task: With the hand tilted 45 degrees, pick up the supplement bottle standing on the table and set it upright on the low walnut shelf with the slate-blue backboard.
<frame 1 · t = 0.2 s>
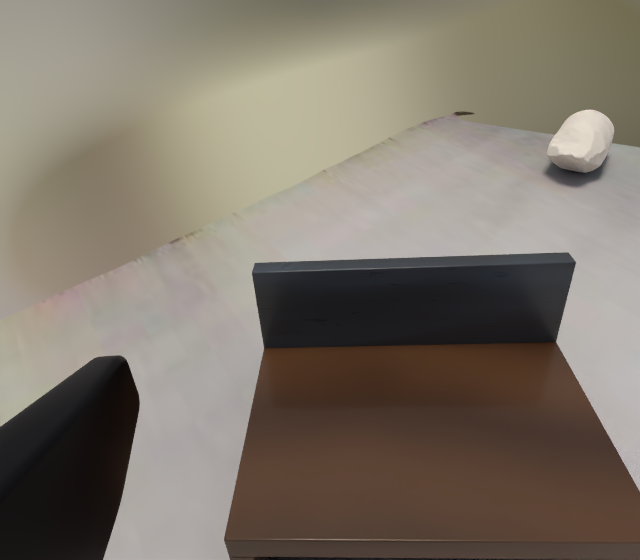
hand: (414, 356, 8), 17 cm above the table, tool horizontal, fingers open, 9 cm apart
white tapered cylinder: (573, 171, 57), on the table
shelf: (416, 477, 25), on the table
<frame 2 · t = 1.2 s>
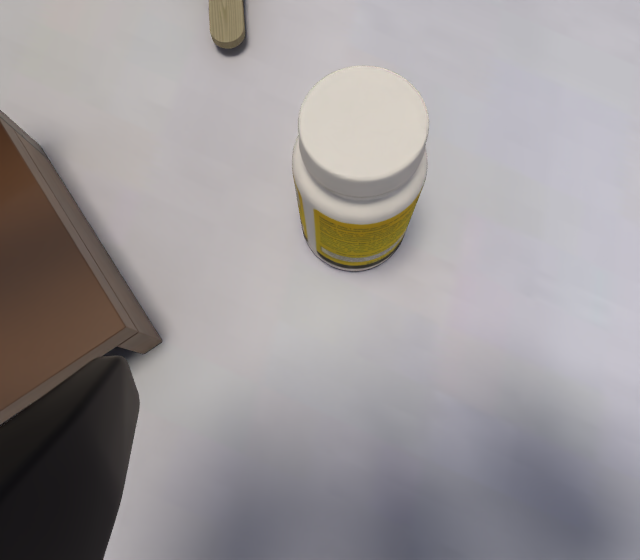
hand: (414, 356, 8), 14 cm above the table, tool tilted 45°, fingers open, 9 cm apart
supplement bottle: (352, 225, 23), on the table
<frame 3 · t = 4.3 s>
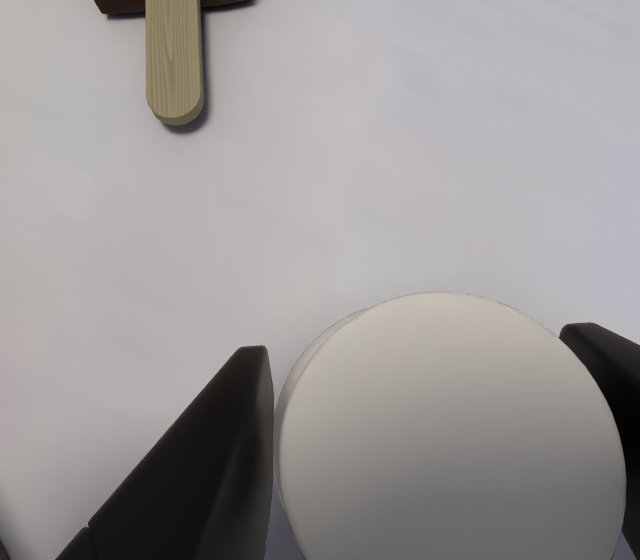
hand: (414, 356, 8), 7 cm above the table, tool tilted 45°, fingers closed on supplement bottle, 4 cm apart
supplement bottle: (380, 428, 14), on the table, touching gripper
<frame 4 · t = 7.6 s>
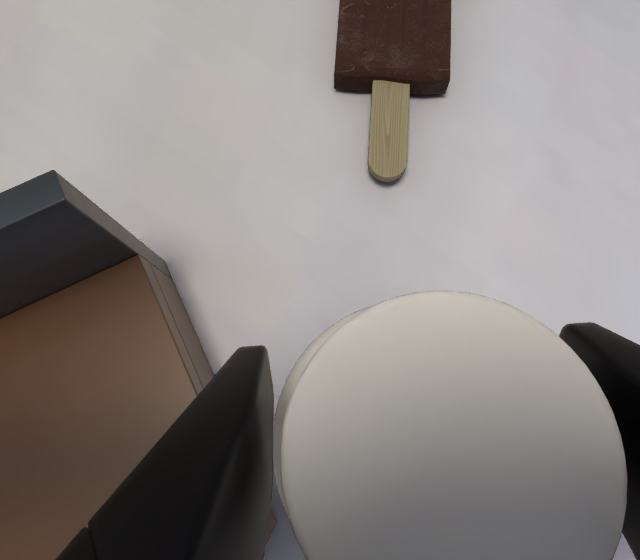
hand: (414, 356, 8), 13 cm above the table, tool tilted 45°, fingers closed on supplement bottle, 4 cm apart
ice cream bar: (390, 50, 25), on the table
shelf: (41, 483, 20), on the table
supplement bottle: (381, 427, 14), point 7 cm above the table, touching gripper
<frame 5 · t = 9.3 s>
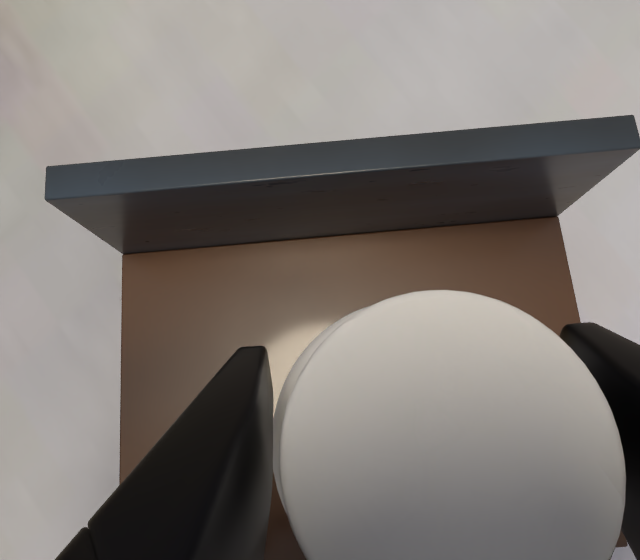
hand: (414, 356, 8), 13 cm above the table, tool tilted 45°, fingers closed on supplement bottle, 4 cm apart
shelf: (350, 390, 20), on the table
supplement bottle: (381, 427, 14), point 7 cm above the table, touching gripper
when the fingers open (11 cm above the table, at t = 11.1 s): supplement bottle stays where it is, resting on shelf.
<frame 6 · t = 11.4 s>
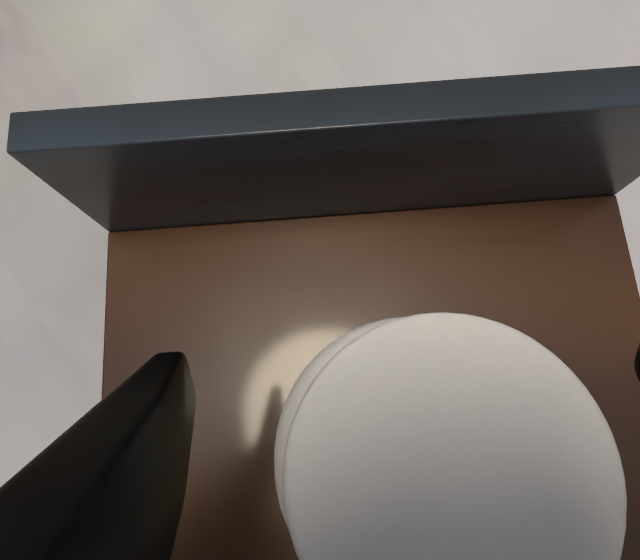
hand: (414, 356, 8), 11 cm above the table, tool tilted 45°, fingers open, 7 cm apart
shelf: (368, 394, 18), on the table
supplement bottle: (381, 436, 14), point 4 cm above the table, touching shelf
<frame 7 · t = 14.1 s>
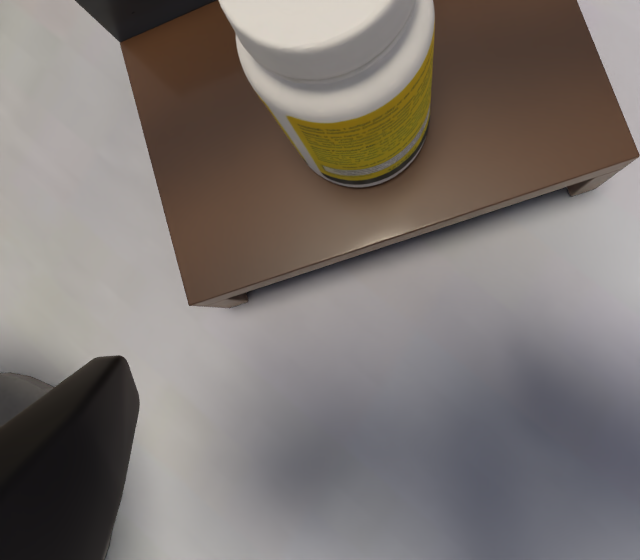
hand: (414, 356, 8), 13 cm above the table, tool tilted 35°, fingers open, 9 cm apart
shelf: (362, 133, 21), on the table
supplement bottle: (361, 126, 18), point 4 cm above the table, touching shelf
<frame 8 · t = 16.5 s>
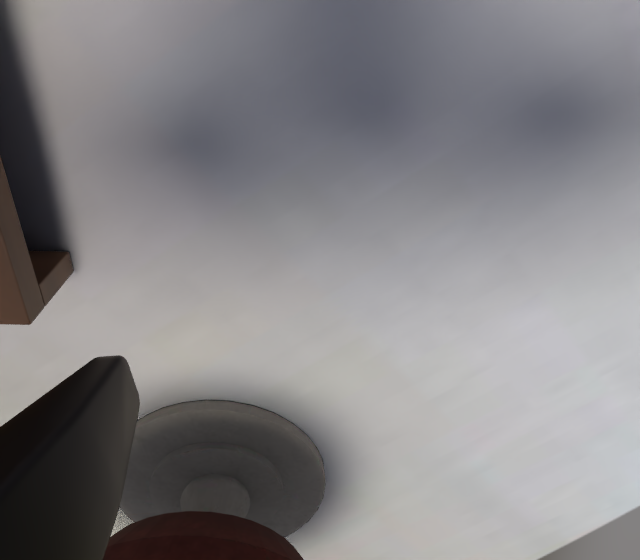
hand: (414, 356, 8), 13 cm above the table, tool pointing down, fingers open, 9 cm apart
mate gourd: (206, 475, 29), on the table
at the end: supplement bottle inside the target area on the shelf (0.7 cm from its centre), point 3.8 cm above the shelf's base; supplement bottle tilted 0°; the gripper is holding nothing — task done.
